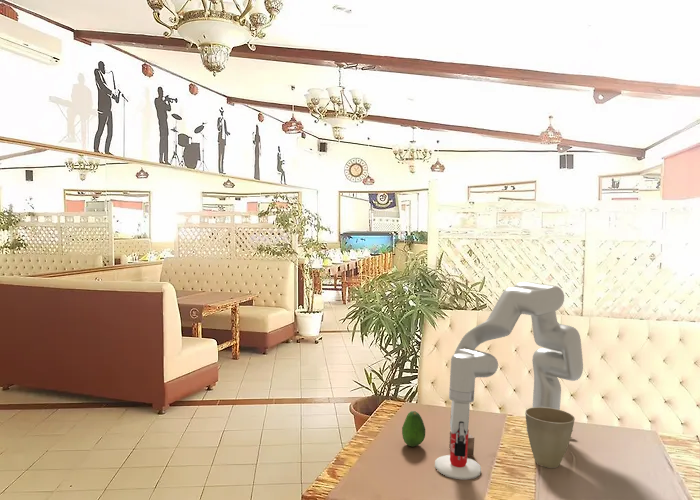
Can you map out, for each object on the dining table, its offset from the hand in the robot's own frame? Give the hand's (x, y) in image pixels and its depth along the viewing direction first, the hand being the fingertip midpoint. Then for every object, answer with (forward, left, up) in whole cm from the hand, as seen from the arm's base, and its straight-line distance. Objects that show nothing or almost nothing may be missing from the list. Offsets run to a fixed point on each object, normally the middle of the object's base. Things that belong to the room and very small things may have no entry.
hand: (458, 449), depth 165 cm
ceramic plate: (0, 0, -6) cm, 6 cm away
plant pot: (-29, -11, -6) cm, 32 cm away
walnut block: (-2, -13, -6) cm, 15 cm away
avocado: (+14, -14, -6) cm, 21 cm away
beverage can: (0, 0, -5) cm, 5 cm away
